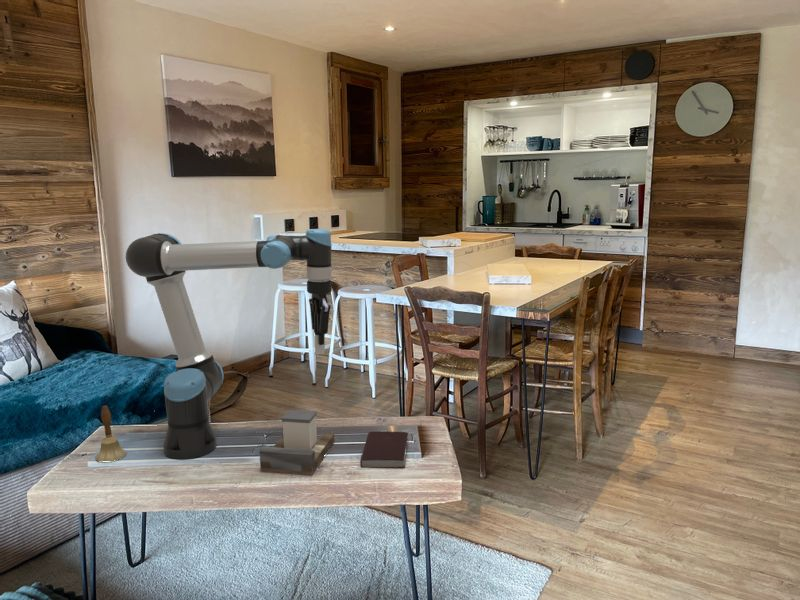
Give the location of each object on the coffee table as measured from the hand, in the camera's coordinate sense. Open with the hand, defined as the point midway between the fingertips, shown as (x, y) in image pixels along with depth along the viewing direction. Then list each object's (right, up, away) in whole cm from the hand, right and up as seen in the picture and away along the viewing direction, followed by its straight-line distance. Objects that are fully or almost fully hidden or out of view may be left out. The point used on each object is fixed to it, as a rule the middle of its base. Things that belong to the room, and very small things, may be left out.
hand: (320, 353), depth 194 cm
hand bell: (-60, -30, -12) cm, 68 cm away
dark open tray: (-4, -29, -14) cm, 32 cm away
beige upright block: (-4, -27, -12) cm, 30 cm away
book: (+21, -29, -12) cm, 38 cm away
